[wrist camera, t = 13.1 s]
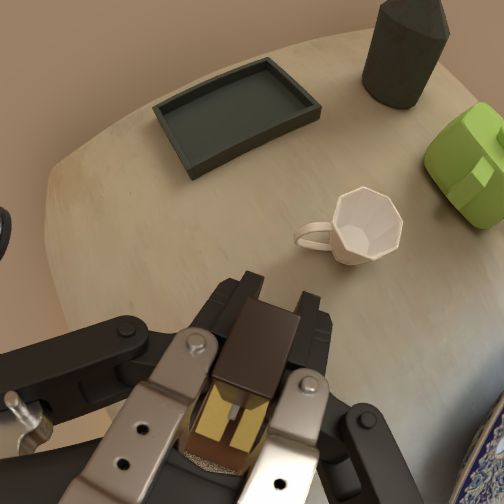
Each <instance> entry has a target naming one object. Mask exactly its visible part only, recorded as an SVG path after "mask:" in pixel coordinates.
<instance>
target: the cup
mask: <svg viewBox="0 0 504 504" xmlns="http://www.w3.org/2000/svg"><path fill="white" fill-rule="evenodd" d="M402 225H403V220H402V219H401V217H400V215H399V213H398V212H397V210H396V208H395V206H394V205H393V203H392V201H391V200H390V198H389V197H388V196H385V195H383V194H381V193H378V192H376V191H373V190H371V189H368V188H365V187H361V188H358V189H356V190H354V191H351V192H349V193H346V194H344V195H342V196H339V199H338V203H337V206H336V209H335V213H334V216H333V219H332V222H318V223H311V224H307V225H305V226H302V227H300V228H299V229H298V230H297V231H296V232H295V233H294V243H295V244H296V245H297V246H300V247H303V248H308V249H313V250H321V251H331V252H332V254H333V256H334V258H335V260H336V261H338V262H340V263H343V264H346V265H348V266H351V265H360V264H363V263H367V262H371V261H374V260H376V259H378V258H380V257H382V256H384V255H386V254H388V253H389V252H391V251H393V250H395V249H397V248H398V245H399V240H400V235H401V230H402ZM312 232H330V237H329V240H330V243H329V244H324V243H316V242H311V241H307V240H303V239H300V238H301V237H302V236H304V235H306V234H309V233H312Z"/></svg>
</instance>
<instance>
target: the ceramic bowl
mask: <svg viewBox="0 0 504 504" xmlns="http://www.w3.org/2000/svg"><path fill="white" fill-rule="evenodd" d="M503 437H504V391H503V392H502V393H501V395H500V396H499V397H498V399H497V400H496V402H495V403H494V404H493V406H492V407H491V409H490V410H489V412H488V413H487V415H486V417H485V418H484V420H483V422H482V423H481V425H480V427H479V429H478V430H477V432H476V434H475V436H474V438H473V440H472V442H471V444H470V446H469V448H468V450H467V452H466V455H465V457H464V459H463V462H462V464H461V467H460V469H459V472H458V475H457V478H456V481H455V484H454V488H453V492H452V496H451V498H450V500H449V503H448V504H504V451H503V452H502V453H501V454H499V455H497V454H496V450H497V446H498V444H499V442H500V440H501V439H502V438H503Z"/></svg>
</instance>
